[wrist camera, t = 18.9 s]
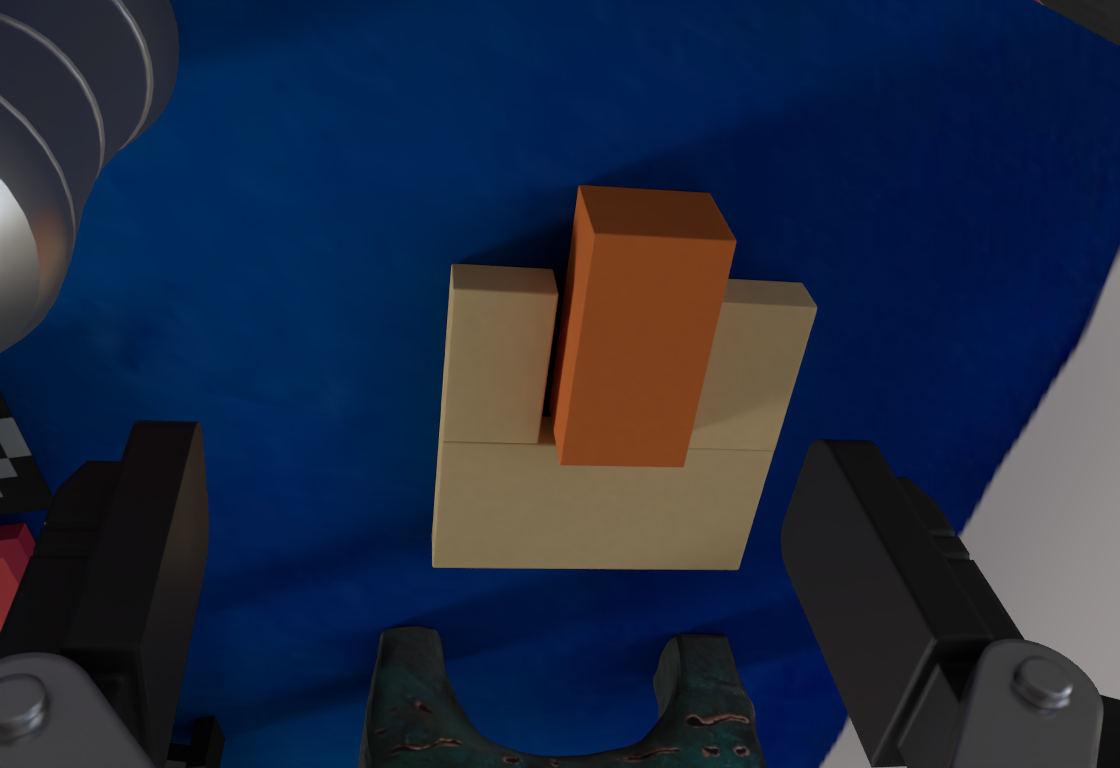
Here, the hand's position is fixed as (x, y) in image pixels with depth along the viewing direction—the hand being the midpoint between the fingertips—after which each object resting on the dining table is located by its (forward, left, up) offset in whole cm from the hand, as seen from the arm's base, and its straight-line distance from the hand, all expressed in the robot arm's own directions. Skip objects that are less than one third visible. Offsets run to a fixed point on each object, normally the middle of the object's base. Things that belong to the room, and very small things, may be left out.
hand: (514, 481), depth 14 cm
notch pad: (+7, -17, -24) cm, 31 cm away
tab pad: (+7, -11, -24) cm, 28 cm away
